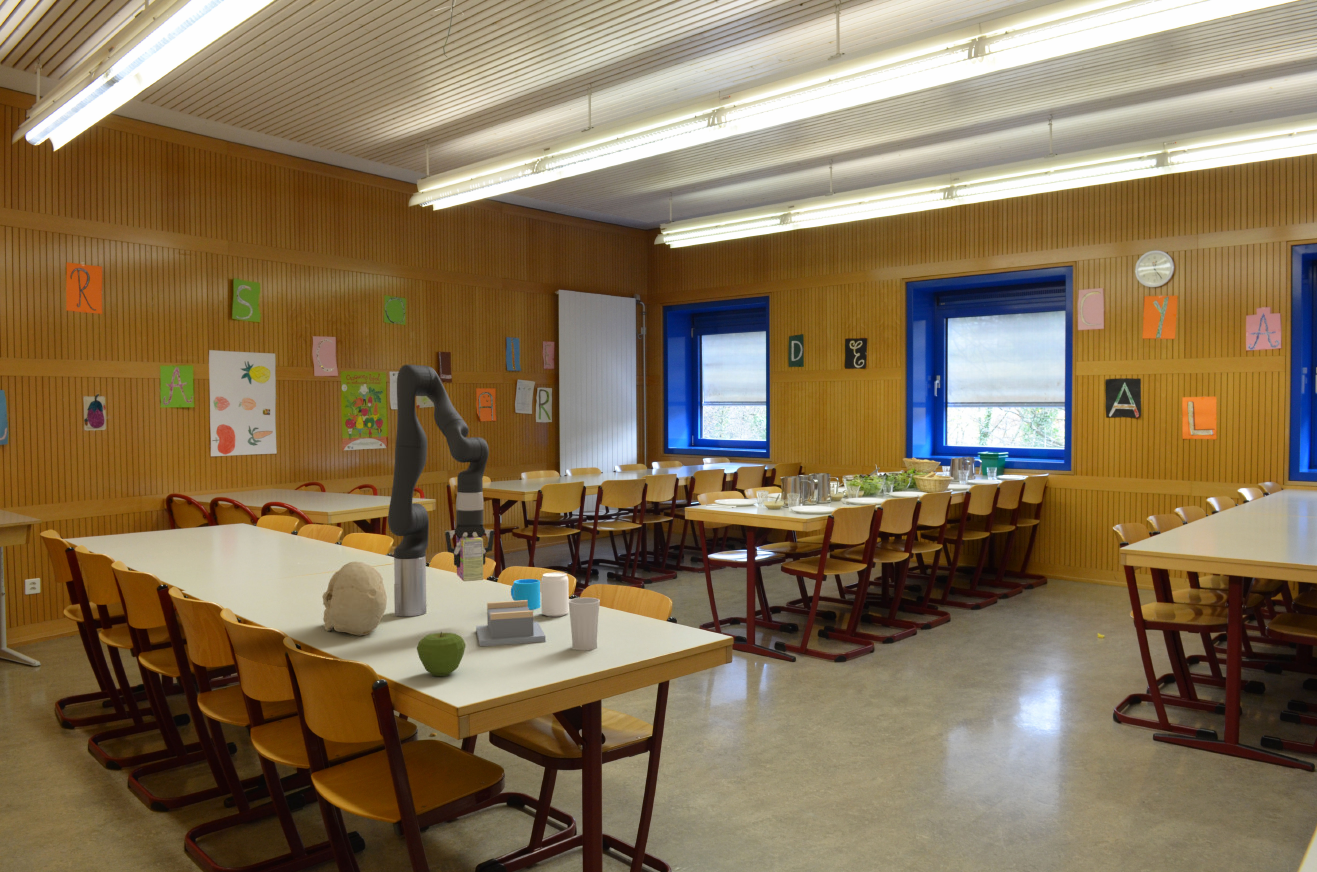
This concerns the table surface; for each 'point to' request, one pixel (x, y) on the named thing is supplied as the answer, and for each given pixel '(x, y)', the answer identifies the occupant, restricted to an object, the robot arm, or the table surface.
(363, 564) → the skull
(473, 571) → the box
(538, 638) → the display stand
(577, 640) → the cup
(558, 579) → the beverage can
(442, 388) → the robot arm
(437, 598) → the table surface
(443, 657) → the apple
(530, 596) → the mug
